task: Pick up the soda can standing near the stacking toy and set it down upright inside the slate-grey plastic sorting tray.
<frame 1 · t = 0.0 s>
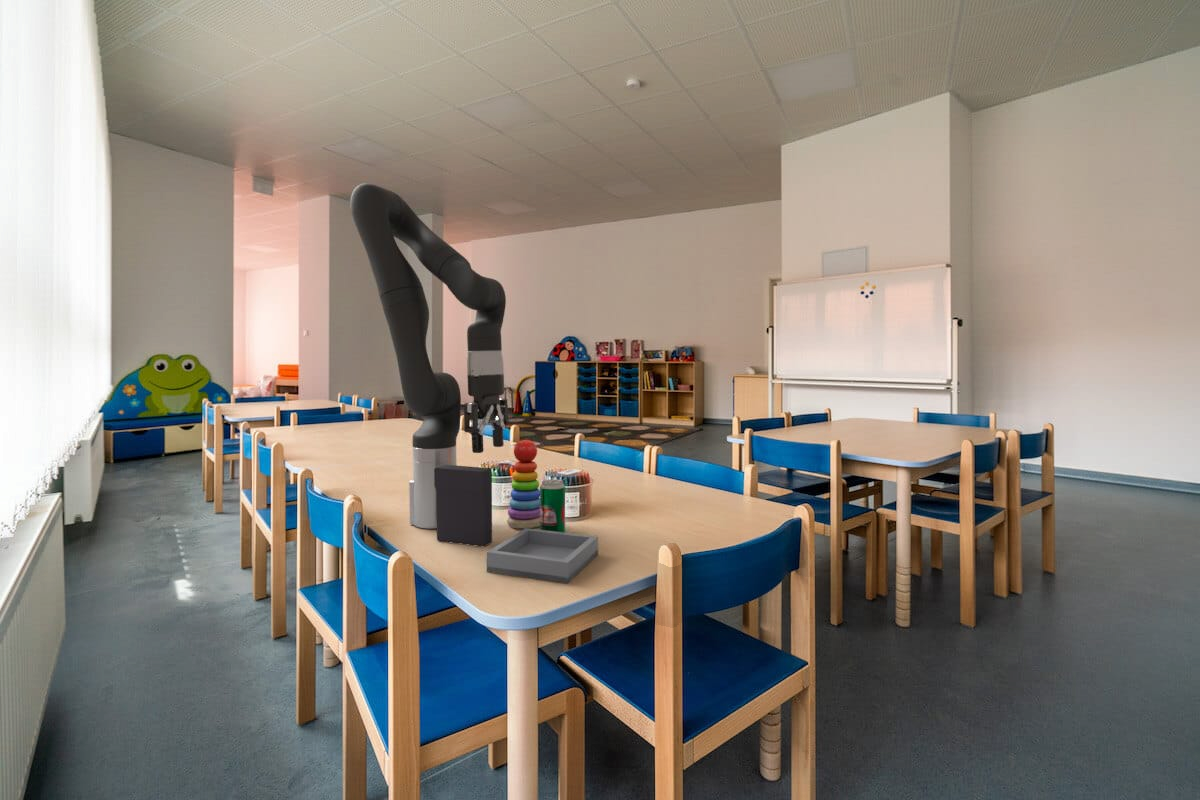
hand: (488, 449, 125), 17 cm above the table, tool pointing down, fingers open, 8 cm apart
black upright block: (464, 542, 117), on the table
soda can: (552, 541, 119), on the table
stacking toy: (525, 525, 129), on the table
sorting tray: (544, 562, 106), on the table
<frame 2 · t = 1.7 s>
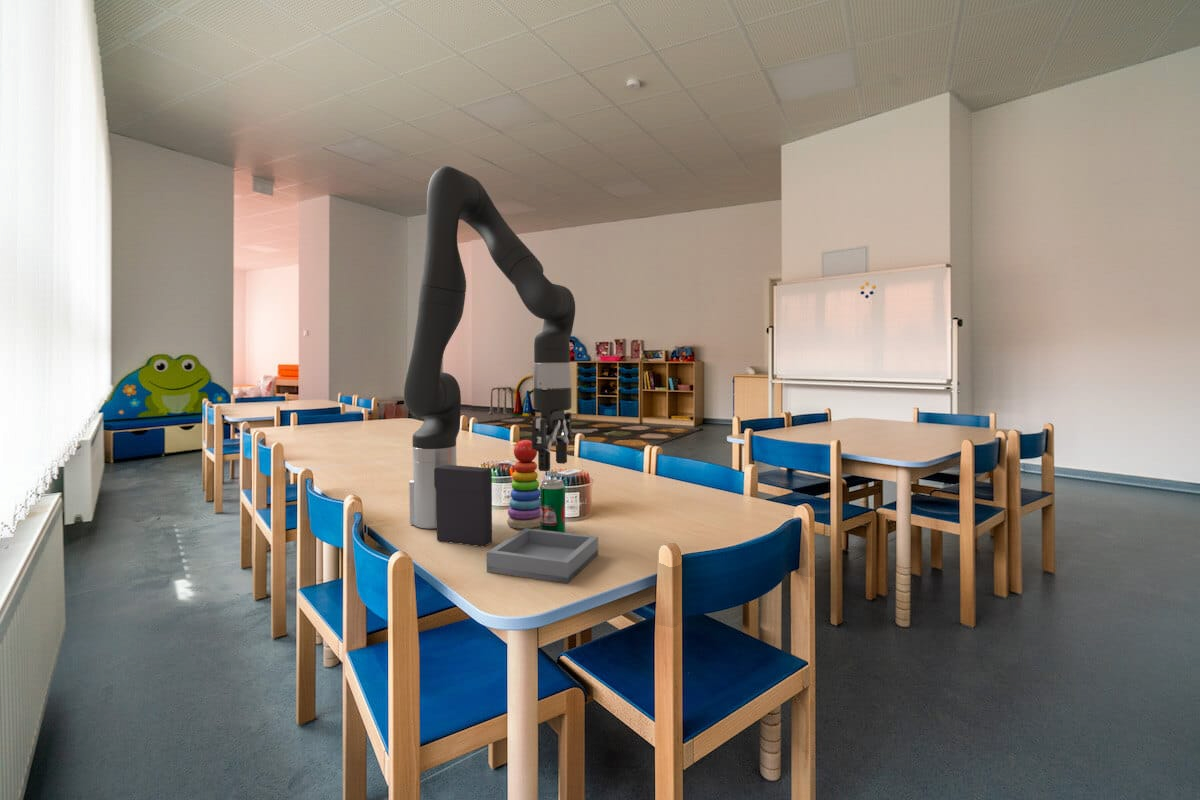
hand: (553, 466, 118), 15 cm above the table, tool pointing down, fingers open, 8 cm apart
nothing on the table moved.
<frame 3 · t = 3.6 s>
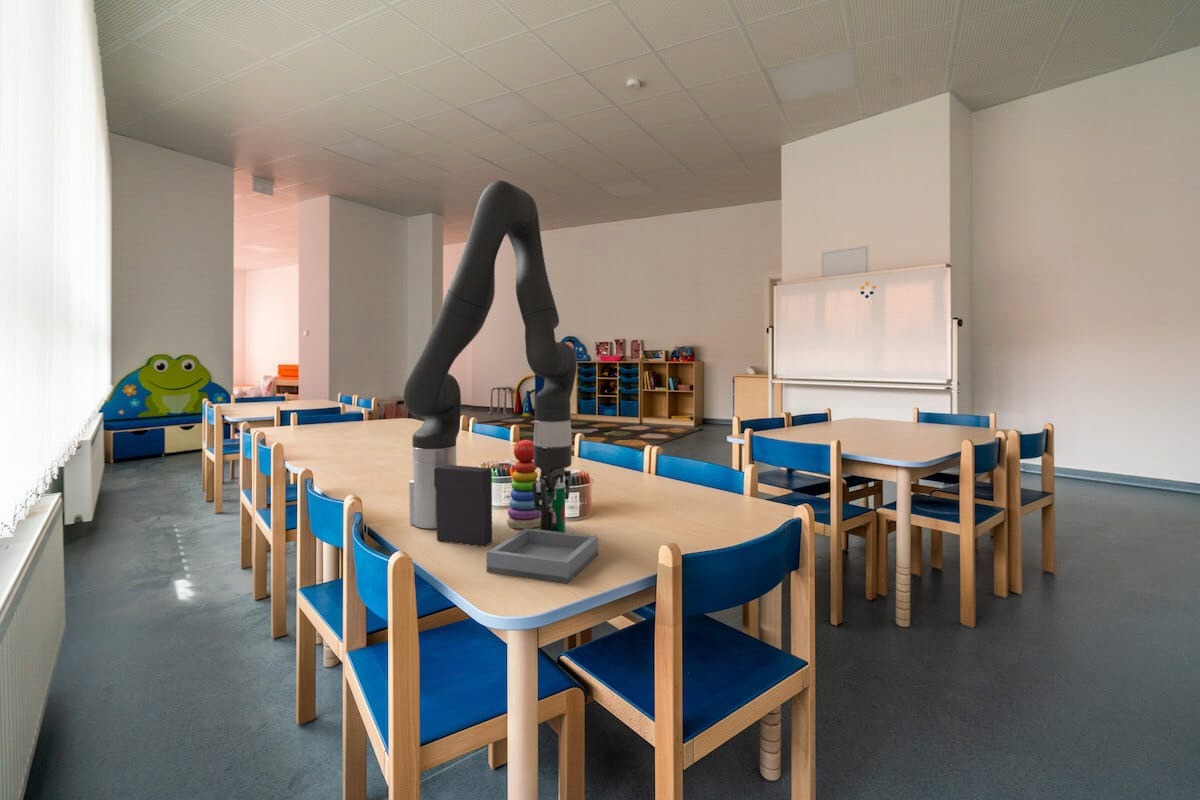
hand: (552, 526, 118), 3 cm above the table, tool pointing down, fingers closed on soda can, 5 cm apart
soda can: (552, 541, 119), on the table, touching gripper
everything else where it was.
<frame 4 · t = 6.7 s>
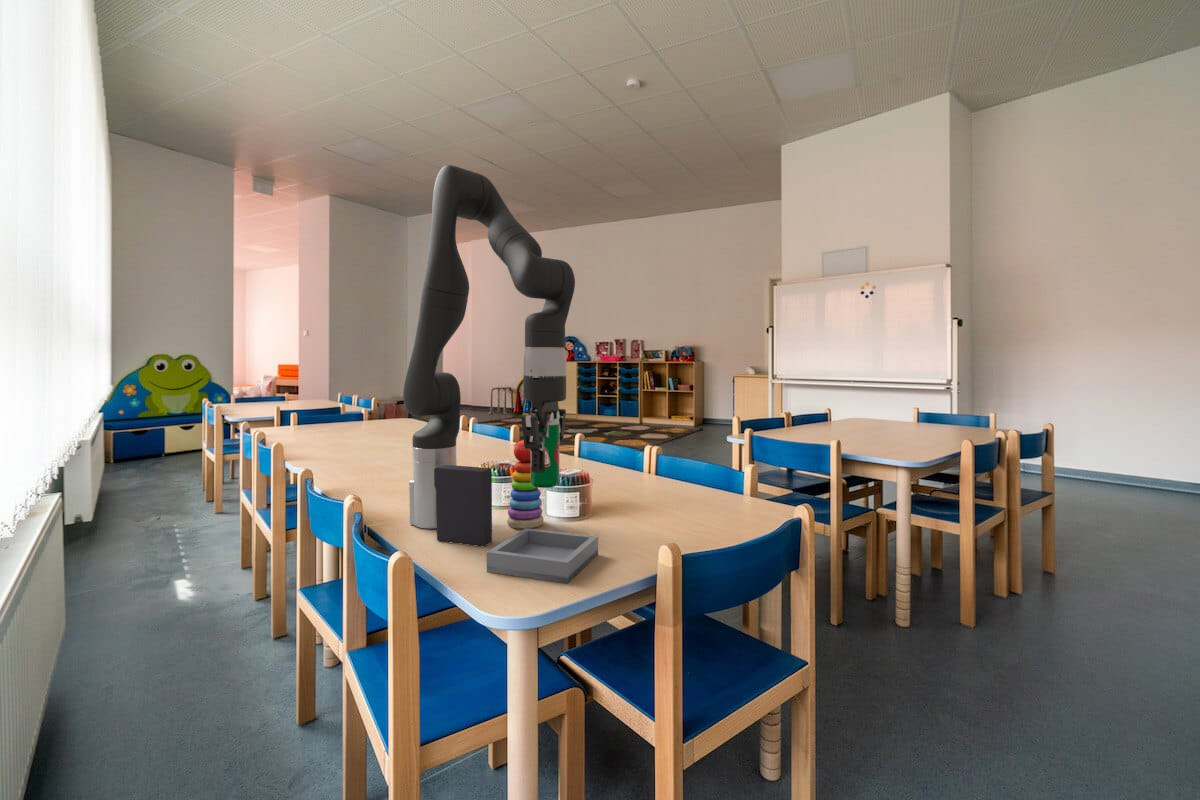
hand: (544, 469, 104), 17 cm above the table, tool pointing down, fingers closed on soda can, 5 cm apart
soda can: (545, 486, 105), point 14 cm above the table, touching gripper
everything else where it was.
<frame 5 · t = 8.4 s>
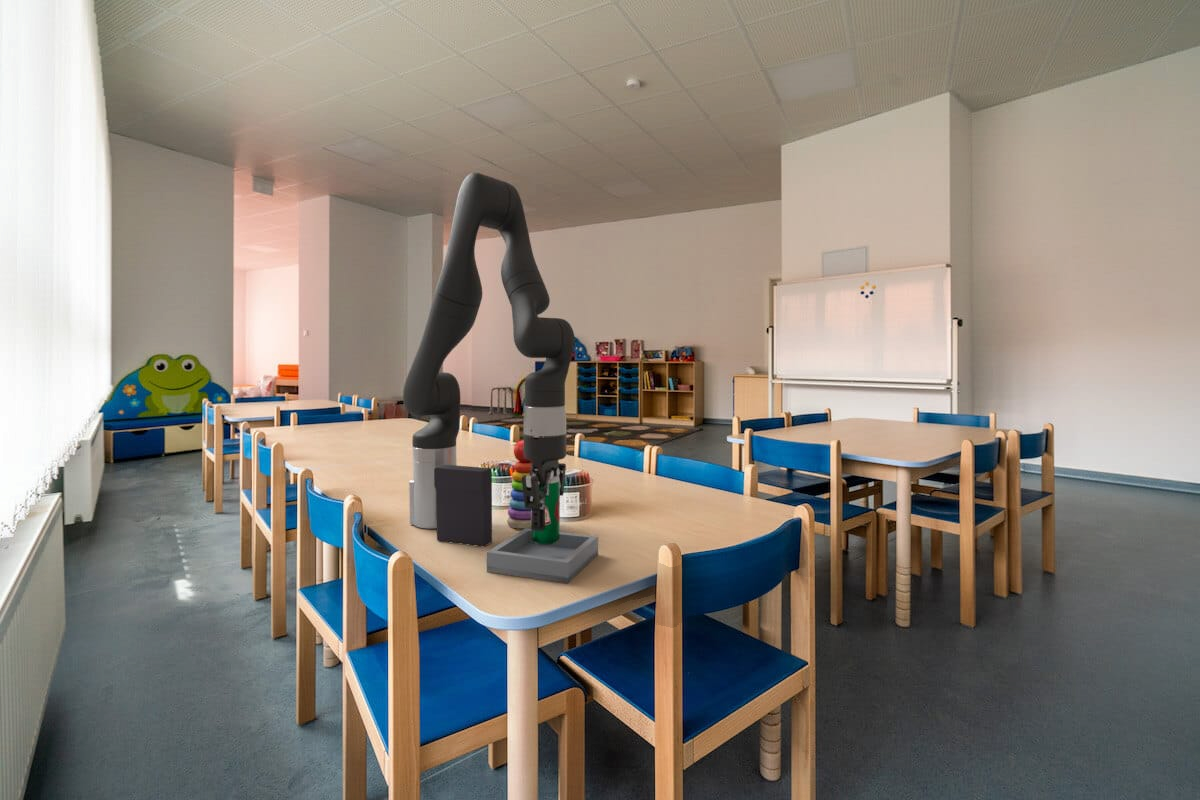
hand: (545, 525, 105), 7 cm above the table, tool pointing down, fingers closed on soda can, 5 cm apart
soda can: (545, 542, 105), point 4 cm above the table, touching gripper
everything else where it was.
when the fingers open (6 cm above the table, at t = 9.5 s): soda can drops 2 cm, resting on sorting tray.
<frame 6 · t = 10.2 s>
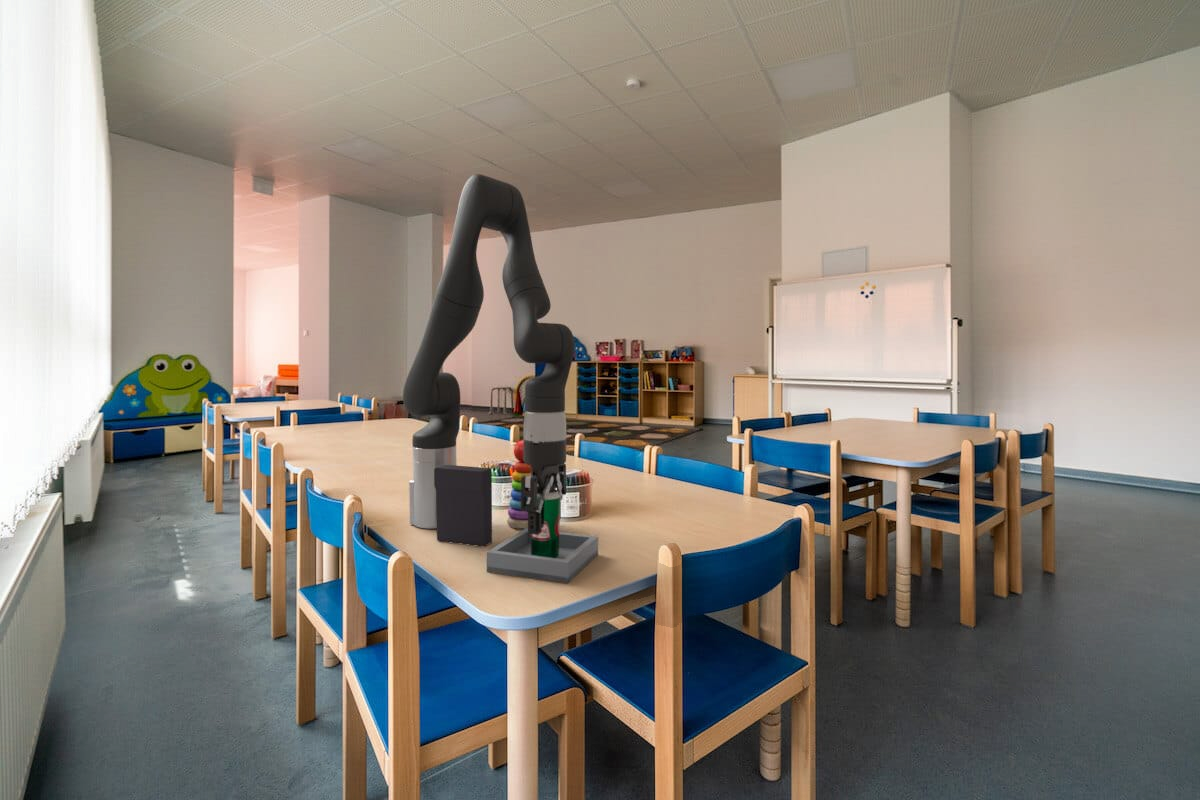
hand: (544, 526, 105), 7 cm above the table, tool pointing down, fingers open, 8 cm apart
soda can: (544, 557, 106), point 1 cm above the table, touching sorting tray
everything else where it was.
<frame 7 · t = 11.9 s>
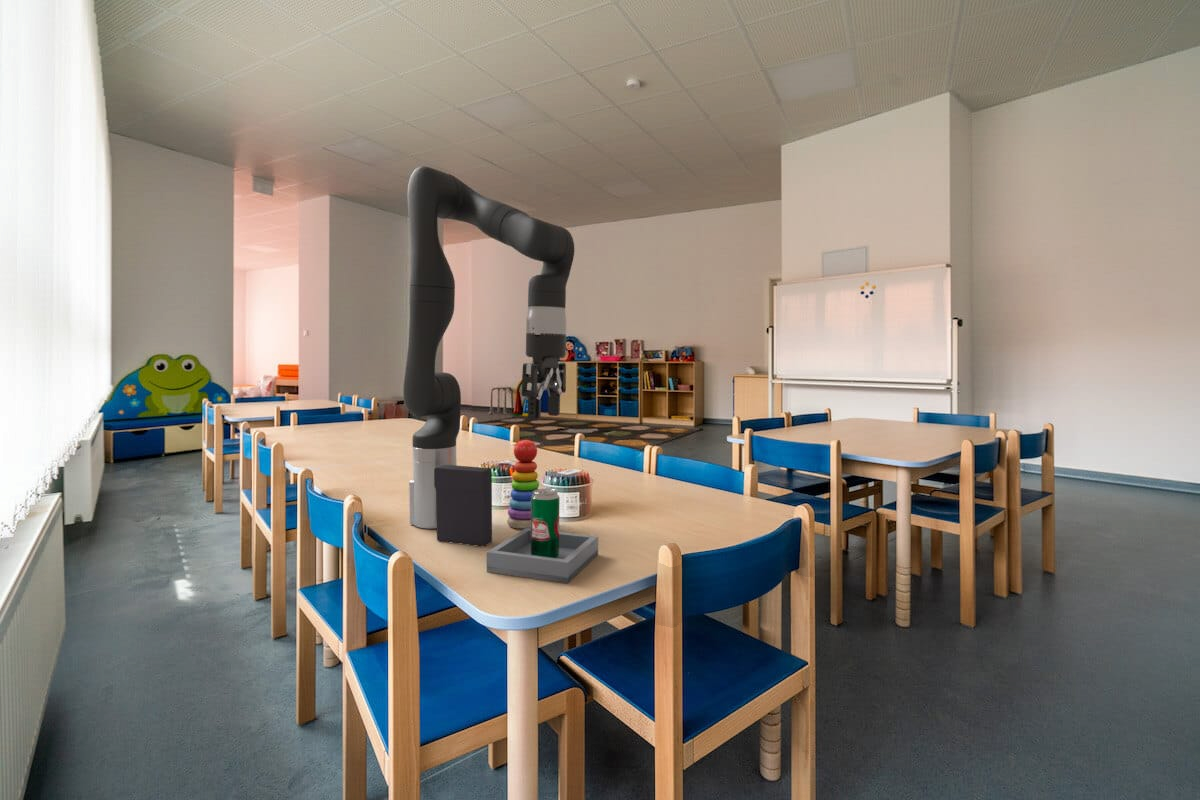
hand: (544, 417, 112), 25 cm above the table, tool pointing down, fingers open, 8 cm apart
nothing on the table moved.
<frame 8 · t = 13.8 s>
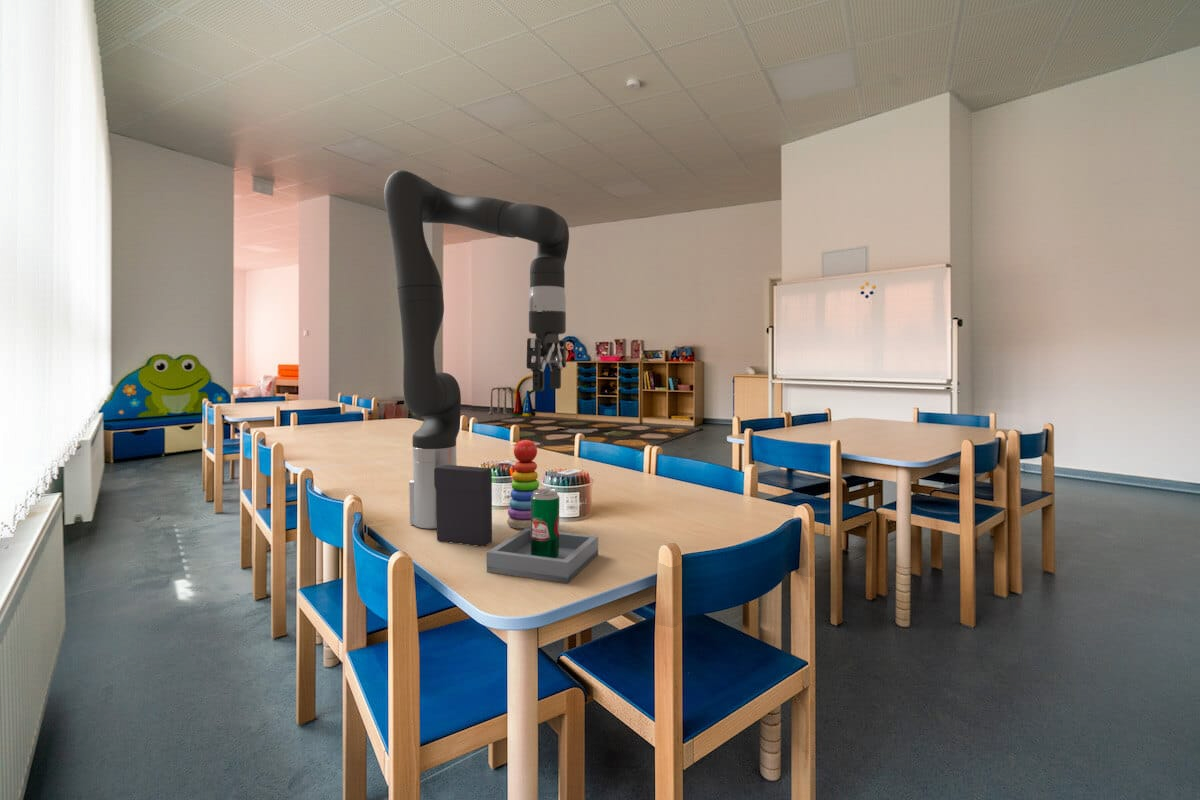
hand: (547, 389, 121), 30 cm above the table, tool pointing down, fingers open, 8 cm apart
nothing on the table moved.
at the end: soda can inside the target area on the sorting tray (0.2 cm from its centre), point 0.8 cm above the sorting tray's base; soda can tilted 0°; the gripper is holding nothing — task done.
